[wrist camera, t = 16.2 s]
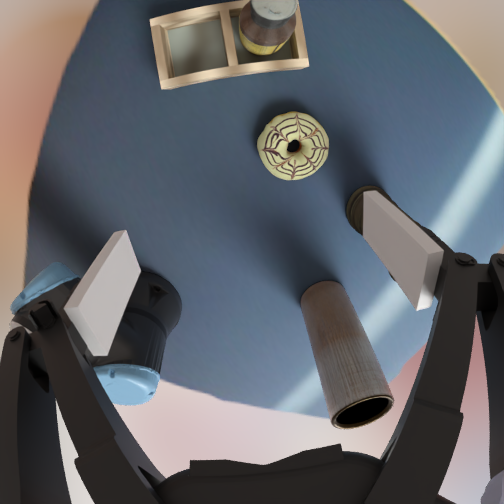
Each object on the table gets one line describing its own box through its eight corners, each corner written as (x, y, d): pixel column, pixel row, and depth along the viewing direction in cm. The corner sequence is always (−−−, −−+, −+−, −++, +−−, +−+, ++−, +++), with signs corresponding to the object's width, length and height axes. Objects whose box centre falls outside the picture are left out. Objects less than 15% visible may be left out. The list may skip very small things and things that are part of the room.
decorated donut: (243, 144, 45) (244, 148, 42) (292, 98, 41) (297, 98, 38) (288, 187, 49) (293, 195, 46) (336, 144, 45) (343, 149, 42)
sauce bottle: (271, 15, 33) (298, -36, 16) (288, 49, 36) (328, 19, 19) (231, 29, 34) (229, -17, 17) (248, 63, 37) (259, 40, 20)
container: (354, 179, 48) (405, 223, 33) (395, 192, 50) (452, 237, 34) (338, 225, 53) (377, 284, 37) (379, 234, 54) (425, 291, 38)
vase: (291, 295, 60) (320, 417, 36) (334, 271, 57) (387, 387, 33) (312, 323, 64) (343, 435, 40) (352, 302, 62) (399, 409, 38)
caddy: (169, 89, 39) (161, 89, 35) (159, 26, 34) (149, 19, 29) (300, 69, 39) (309, 66, 34) (290, 6, 33) (297, -4, 29)
